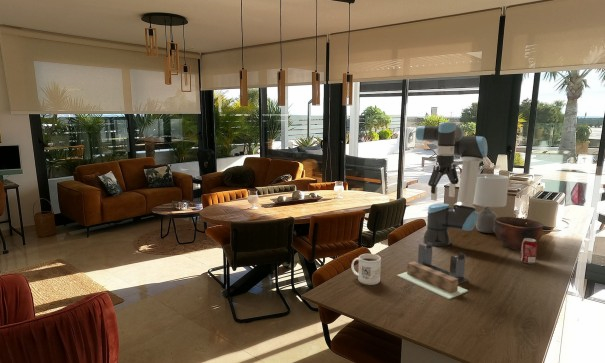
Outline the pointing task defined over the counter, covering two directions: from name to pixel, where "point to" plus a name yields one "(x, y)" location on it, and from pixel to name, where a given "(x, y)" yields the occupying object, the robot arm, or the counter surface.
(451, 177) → the robot arm
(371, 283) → the mug
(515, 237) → the bowl
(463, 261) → the rack
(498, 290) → the counter surface
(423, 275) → the rail
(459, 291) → the mat
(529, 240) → the soda can
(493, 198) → the lamp
